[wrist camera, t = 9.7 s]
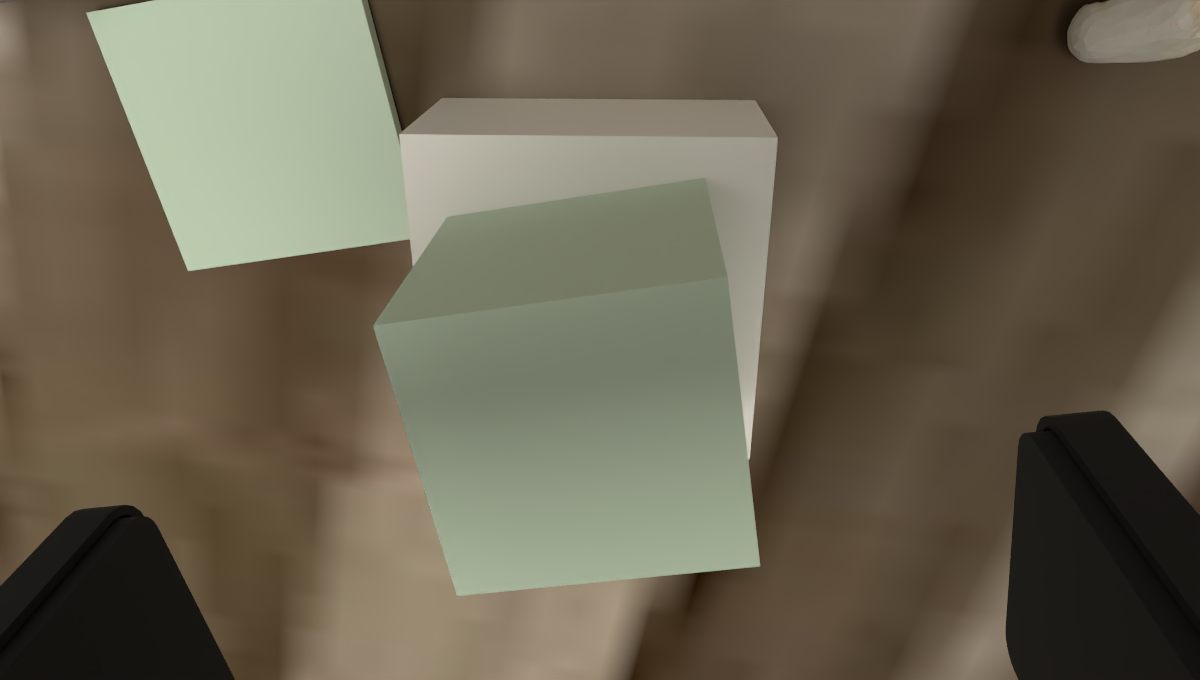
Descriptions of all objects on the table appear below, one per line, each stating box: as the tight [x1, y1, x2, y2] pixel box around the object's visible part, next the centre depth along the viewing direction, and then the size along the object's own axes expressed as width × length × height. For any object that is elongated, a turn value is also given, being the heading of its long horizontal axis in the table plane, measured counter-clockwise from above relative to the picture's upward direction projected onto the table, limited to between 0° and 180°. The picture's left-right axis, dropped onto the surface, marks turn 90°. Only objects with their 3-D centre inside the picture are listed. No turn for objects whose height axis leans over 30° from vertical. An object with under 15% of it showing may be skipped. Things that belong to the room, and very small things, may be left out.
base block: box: [399, 98, 778, 459], centre depth 19 cm, size 7×7×4 cm
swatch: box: [86, 0, 410, 271], centre depth 19 cm, size 6×6×1 cm
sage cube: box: [373, 178, 760, 596], centre depth 15 cm, size 5×5×5 cm
